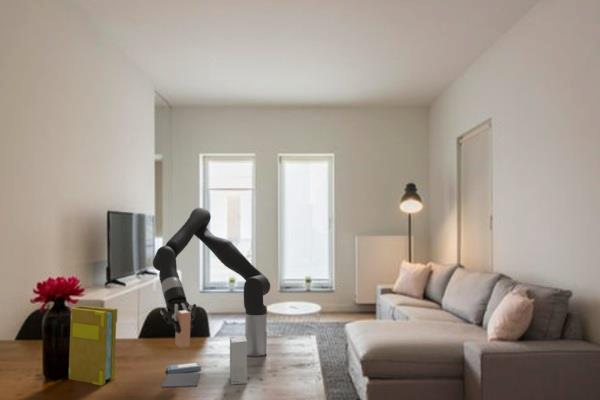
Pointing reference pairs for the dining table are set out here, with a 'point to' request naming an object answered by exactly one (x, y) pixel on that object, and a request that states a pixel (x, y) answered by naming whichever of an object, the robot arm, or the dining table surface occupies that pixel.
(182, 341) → the tan rectangular block
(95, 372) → the book
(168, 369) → the blue panel box
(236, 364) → the skincare box
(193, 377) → the mat
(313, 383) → the dining table surface
